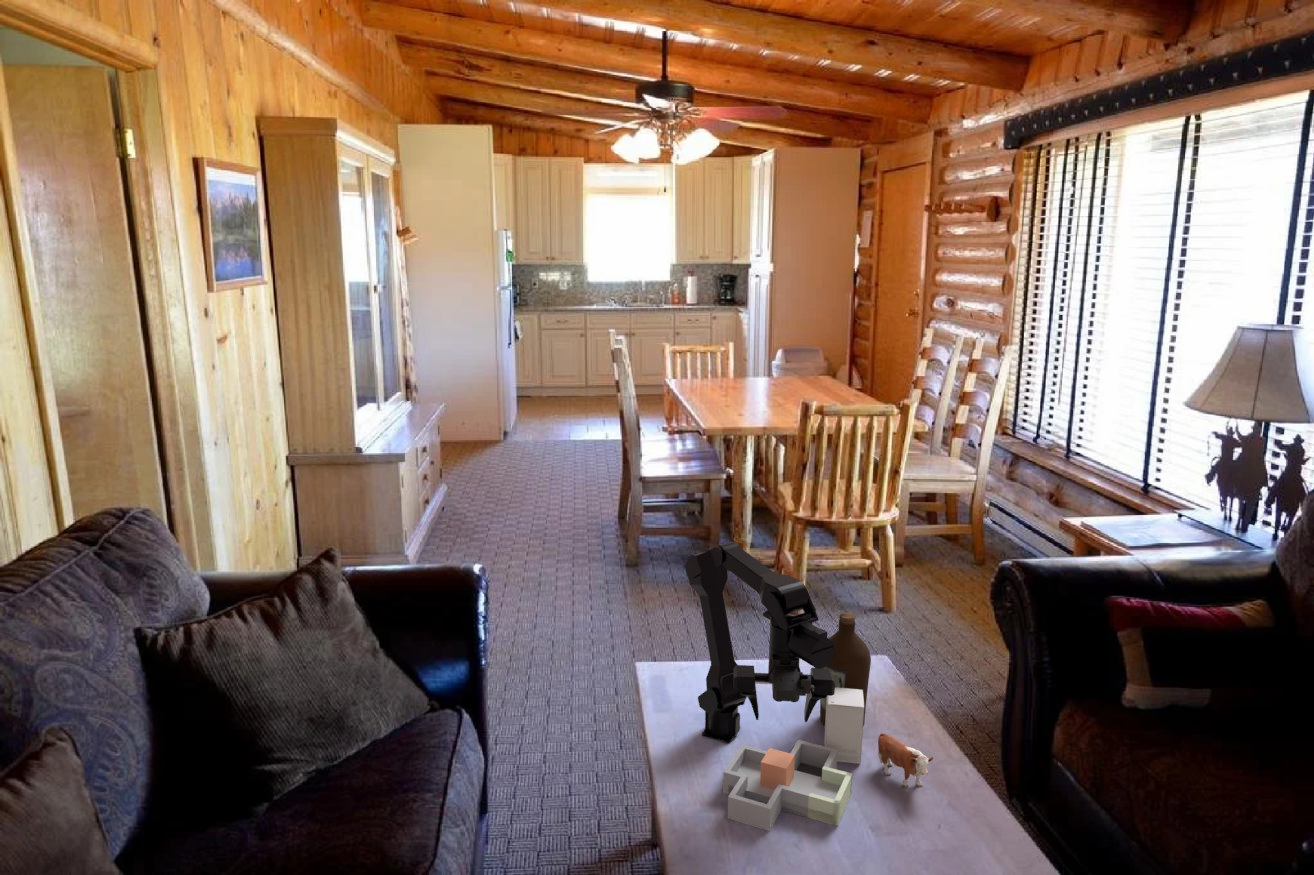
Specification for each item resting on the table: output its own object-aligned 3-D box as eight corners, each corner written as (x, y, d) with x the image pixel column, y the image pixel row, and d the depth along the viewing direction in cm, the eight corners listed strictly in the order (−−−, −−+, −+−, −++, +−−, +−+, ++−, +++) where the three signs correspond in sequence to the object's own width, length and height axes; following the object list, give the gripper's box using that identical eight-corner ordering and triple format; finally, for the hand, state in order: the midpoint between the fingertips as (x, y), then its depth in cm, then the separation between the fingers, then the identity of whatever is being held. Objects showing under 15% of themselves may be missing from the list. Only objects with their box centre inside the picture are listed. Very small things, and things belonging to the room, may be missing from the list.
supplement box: (861, 764, 174) (864, 707, 171) (823, 760, 175) (826, 703, 173) (860, 744, 181) (863, 688, 178) (824, 740, 183) (826, 685, 180)
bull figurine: (920, 802, 162) (923, 764, 161) (871, 764, 174) (873, 728, 172) (937, 796, 164) (940, 757, 163) (888, 758, 176) (890, 722, 174)
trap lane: (709, 813, 160) (710, 791, 159) (752, 747, 180) (753, 728, 179) (827, 849, 150) (829, 826, 149) (859, 775, 170) (860, 755, 169)
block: (760, 785, 164) (760, 761, 163) (768, 771, 169) (769, 748, 168) (785, 792, 162) (786, 768, 161) (793, 778, 167) (794, 754, 165)
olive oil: (840, 704, 196) (845, 600, 191) (877, 725, 188) (884, 617, 182) (806, 719, 190) (811, 613, 185) (843, 741, 182) (849, 631, 176)
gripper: (735, 665, 156) (733, 742, 160) (841, 668, 155) (836, 746, 159) (734, 636, 167) (732, 709, 171) (832, 639, 166) (828, 713, 170)
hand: (781, 719), depth 167 cm, fingers open, 9 cm apart
